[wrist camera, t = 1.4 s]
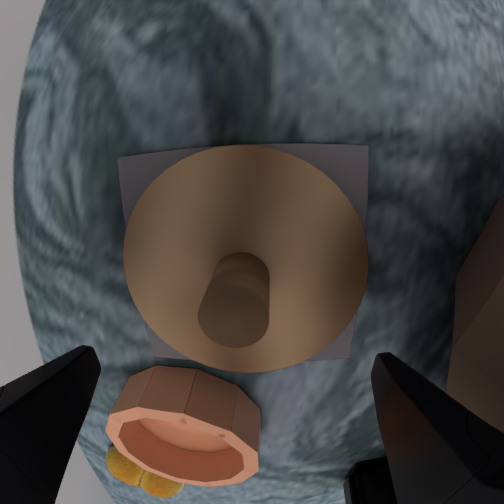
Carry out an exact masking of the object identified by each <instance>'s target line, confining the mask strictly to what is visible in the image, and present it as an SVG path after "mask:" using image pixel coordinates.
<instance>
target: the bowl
mask: <svg viewBox="0 0 504 504" xmlns="http://www.w3.org/2000/svg"><path fill="white" fill-rule="evenodd" d="M105 432H106V433H107V435H108V436H109V438H110V439H111V441H112V442H113V444H114V445H115V447H116V448H117V450H118V451H119V452H120V453H121V454H123V455H124V456H126V457H127V458H128V459H130V460H131V461H133V462H134V463H136V464H137V465H138V466H140V467H141V468H143V469H144V470H147V471H149V472H152V473H154V474H157V475H159V476H162V477H164V478H167V479H170V480H173V481H175V482H180V483H186V484H193V485H200V486H209V487H214V486H222V485H230V484H237V483H241V482H243V481H244V480H246V479H247V478H249V477H250V476H252V475H253V474H255V473H256V472H258V471H259V458H260V439H261V417H260V408H259V407H258V406H257V405H256V404H255V403H254V402H253V401H252V400H251V399H250V398H249V397H248V396H247V395H246V394H245V393H244V392H243V391H242V390H241V389H240V388H239V387H238V386H237V385H235V384H232V383H230V382H227V381H225V380H222V379H220V378H218V377H215V376H213V375H211V374H208V373H206V372H204V371H202V370H199V369H194V368H181V367H169V366H159V365H157V366H153V367H151V368H149V369H146V370H144V371H141V372H139V373H136V374H134V375H131V376H130V377H129V379H128V381H127V383H126V385H125V386H124V388H123V390H122V392H121V394H120V396H119V398H118V400H117V402H116V404H115V405H114V407H113V409H112V411H111V413H110V416H109V420H108V423H107V427H106V431H105Z"/></svg>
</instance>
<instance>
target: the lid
mask: <svg viewBox="0 0 504 504" xmlns="http://www.w3.org/2000/svg"><path fill="white" fill-rule="evenodd" d="M123 264H124V271H125V278H126V281H127V285H128V288H129V292H130V294H131V296H132V299H133V301H134V303H135V305H136V307H137V309H138V311H139V312H140V314H141V316H142V317H143V318H144V320H145V321H146V322H147V324H148V325H149V326H150V328H151V329H152V330H153V331H154V332H155V333H156V334H157V335H158V336H159V337H160V338H161V339H162V340H163V341H165V342H166V343H167V344H168V345H169V346H170V347H172V348H173V349H175V350H176V351H178V352H179V353H181V354H183V355H184V356H186V357H188V358H190V359H192V360H194V361H196V362H199V363H201V364H204V365H206V366H210V367H213V368H217V369H220V370H226V371H232V372H243V373H257V372H267V371H274V370H279V369H283V368H286V367H290V366H292V365H295V364H298V363H300V362H303V361H305V360H307V359H309V358H311V357H312V356H314V355H316V354H317V353H319V352H320V351H322V350H323V349H325V348H326V347H327V346H328V345H330V344H331V343H332V342H333V341H334V340H335V339H336V338H337V337H338V336H339V335H340V334H341V333H342V332H343V331H344V330H345V328H346V327H347V326H348V324H349V323H350V321H351V320H352V318H353V317H354V315H355V313H356V311H357V309H358V307H359V305H360V303H361V300H362V297H363V295H364V292H365V288H366V283H367V278H368V264H369V258H368V248H367V242H366V238H365V234H364V230H363V227H362V225H361V222H360V220H359V217H358V215H357V213H356V211H355V209H354V208H353V206H352V204H351V203H350V201H349V199H348V198H347V197H346V196H345V194H344V193H343V192H342V191H341V190H340V188H339V187H338V186H337V185H336V184H335V183H334V182H333V181H332V180H331V179H330V178H329V177H327V176H326V175H325V174H324V173H323V172H321V171H320V170H318V169H317V168H315V167H314V166H312V165H311V164H309V163H308V162H306V161H304V160H302V159H300V158H298V157H296V156H293V155H291V154H289V153H286V152H283V151H280V150H276V149H273V148H268V147H262V146H255V145H231V146H223V147H216V148H212V149H208V150H205V151H201V152H198V153H196V154H193V155H191V156H189V157H187V158H184V159H182V160H180V161H179V162H177V163H176V164H174V165H173V166H171V167H169V168H168V169H166V170H165V171H164V172H163V173H162V174H161V175H160V176H158V177H157V178H156V179H155V180H154V181H153V182H152V183H151V184H150V186H149V187H148V188H147V189H146V190H145V192H144V193H143V194H142V196H141V197H140V199H139V201H138V202H137V204H136V206H135V208H134V210H133V212H132V214H131V217H130V219H129V222H128V226H127V229H126V233H125V239H124V247H123Z"/></svg>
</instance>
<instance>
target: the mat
mask: <svg viewBox="0 0 504 504" xmlns="http://www.w3.org/2000/svg"><path fill="white" fill-rule="evenodd" d="M249 145H255V146H262V147H268V148H273V149H276V150H280V151H283V152H286V153H289V154H291V155H293V156H296V157H298V158H300V159H302V160H304V161H306V162H308V163H309V164H311V165H312V166H314V167H315V168H317V169H318V170H320V171H321V172H323V173H324V174H325V175H326V176H327V177H329V178H330V179H331V180H332V181H333V182H334V183H335V184H336V185H337V186H338V187H339V188H340V190H341V191H342V192H343V193H344V194H345V196H346V197H347V198H348V199H349V201H350V203H351V204H352V206H353V208H354V209H355V211H356V213H357V215H358V217H359V220H360V222H361V225H362V227H363V230H364V234H366V219H367V201H368V167H369V146H363V145H344V144H304V143H290V144H249ZM229 146H231V145H229ZM216 147H223V146H214V147H202V148H190V149H180V150H171V151H162V152H154V153H147V154H140V155H133V156H126V157H120V158H117V162H118V173H119V182H120V191H121V199H122V207H123V214H124V221H125V228H126V229H127V226H128V222H129V219H130V217H131V214H132V212H133V210H134V208H135V206H136V204H137V202H138V201H139V199H140V197H141V196H142V194H143V193H144V192H145V190H146V189H147V188H148V187H149V186H150V184H151V183H152V182H153V181H154V180H155V179H156V178H157V177H158V176H160V175H161V174H162V173H163V172H164V171H165V170H166V169H168V168H169V167H171V166H173V165H174V164H176V163H177V162H179V161H180V160H182V159H184V158H187V157H189V156H191V155H193V154H196V153H198V152H201V151H205V150H208V149H212V148H216ZM356 313H357V311H356ZM356 313H355V315H354V317H353V318H352V320H351V321H350V323H349V324H348V326H347V327H346V328H345V330H344V331H343V332H342V333H341V334H340V335H339V336H338V337H337V338H336V339H335V340H334V341H333V342H332V343H331V344H330V345H328V346H327V347H326V348H325V349H323V350H322V351H320V352H319V353H317V354H316V355H314V356H312V357H311V358H309V359H307V360H305V361H318V360H335V359H348V358H349V354H350V349H351V344H352V338H353V332H354V326H355V320H356ZM144 321H145V320H144ZM145 325H146V329H147V332H148V336H149V340H150V343H151V347H152V351H153V354H154V357H162V358H174V359H188V360H192V359H190V358H188V357H186V356H184V355H183V354H181V353H179V352H178V351H176V350H175V349H173V348H172V347H170V346H169V345H168V344H167V343H166V342H165V341H163V340H162V339H161V338H160V337H159V336H158V335H157V334H156V333H155V332H154V331H153V330H152V329H151V328H150V326H149V325H148V324H147V322H146V321H145Z"/></svg>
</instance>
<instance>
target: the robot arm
mask: <svg viewBox="0 0 504 504" xmlns="http://www.w3.org/2000/svg"><path fill="white" fill-rule="evenodd" d="M100 372H101V365H100V362H99V360H98V358H97V355H96V353H95V350H94V348H93V347H91V346H86V345H81V346H79V347H77V348H75V349H73V350H71V351H69V352H68V353H66V354H64V355H62V356H60V357H58V358H56V359H54V360H52V361H50V362H48V363H46V364H44V365H43V366H41V367H39V368H37V369H35V370H33V371H31V372H29V373H27V374H25V375H23V376H21V377H19V378H17V379H15V380H13V381H11V382H10V383H8V384H6V385H5V386H2V387H0V504H55V500H56V498H57V494H58V491H59V488H60V485H61V482H62V479H63V476H64V473H65V470H66V467H67V464H68V461H69V459H70V456H71V453H72V450H73V448H74V445H75V442H76V440H77V437H78V435H79V432H80V429H81V427H82V424H83V422H84V419H85V417H86V415H87V412H88V410H89V407H90V404H91V401H92V397H93V394H94V391H95V388H96V384H97V381H98V378H99V375H100ZM371 382H372V388H373V394H374V400H375V407H376V414H377V420H378V424H379V428H380V432H381V436H382V439H383V443H384V447H385V451H386V455H387V458H385V459H379V460H374V461H368V462H362V463H358V464H356V465H355V466H354V468H353V470H352V472H351V474H350V475H349V476H348V477H347V479H346V481H345V483H344V485H343V486H344V494H345V501H346V504H504V433H503V432H501V431H500V430H498V429H496V428H495V427H493V426H491V425H490V424H488V423H487V422H485V421H484V420H482V419H481V418H480V417H478V416H477V415H475V414H474V413H473V412H471V411H470V410H467V408H466V407H464V406H463V405H462V404H460V403H459V402H457V401H456V400H455V399H453V398H452V397H451V396H449V395H448V394H447V393H445V392H444V391H442V390H441V389H440V388H438V387H437V386H436V385H434V384H433V383H432V382H430V381H429V380H427V379H426V378H425V377H423V376H422V375H421V374H419V373H418V372H416V371H415V370H414V369H412V368H411V367H410V366H408V365H407V364H406V363H404V362H403V361H401V360H400V359H399V358H397V357H396V356H395V355H393V354H392V353H390V352H385V353H378V354H377V355H376V357H375V361H374V365H373V369H372V373H371Z"/></svg>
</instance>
